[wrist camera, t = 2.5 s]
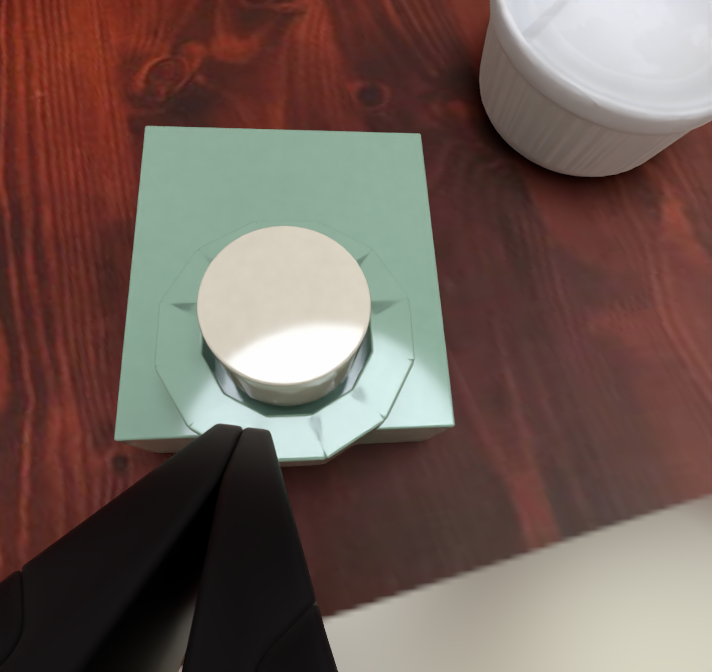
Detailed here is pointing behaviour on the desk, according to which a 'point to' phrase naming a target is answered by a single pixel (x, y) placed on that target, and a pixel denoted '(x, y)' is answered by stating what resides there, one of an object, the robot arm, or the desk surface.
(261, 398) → the cream cylindrical button
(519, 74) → the ramekin
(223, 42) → the desk surface
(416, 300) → the button base
